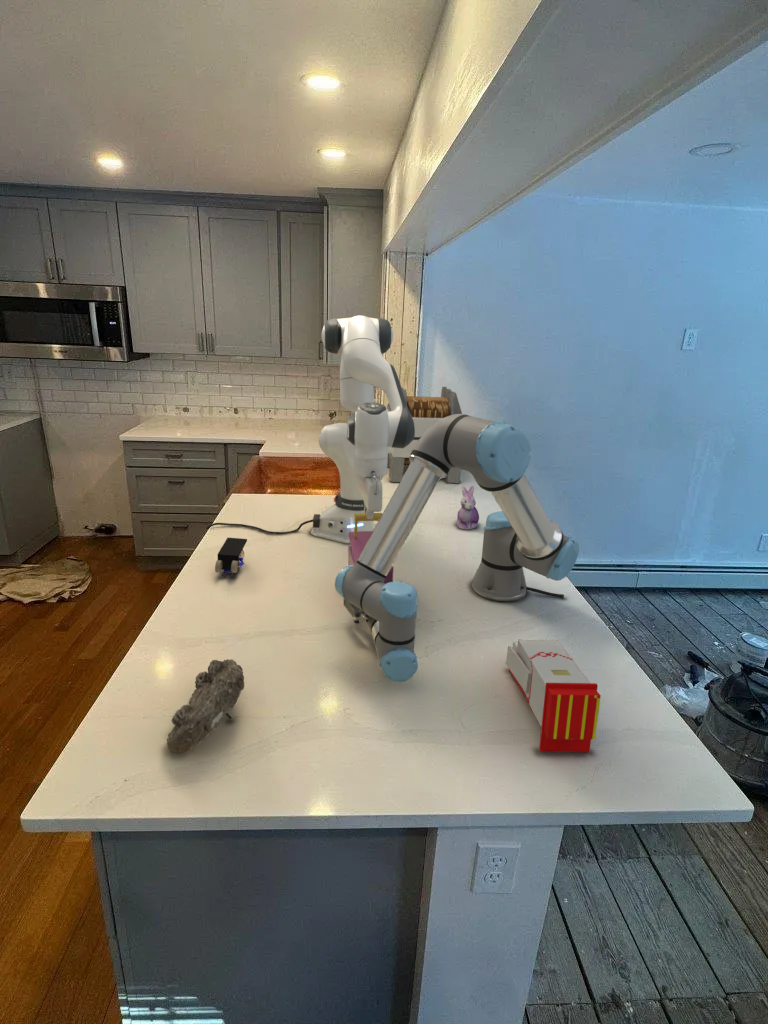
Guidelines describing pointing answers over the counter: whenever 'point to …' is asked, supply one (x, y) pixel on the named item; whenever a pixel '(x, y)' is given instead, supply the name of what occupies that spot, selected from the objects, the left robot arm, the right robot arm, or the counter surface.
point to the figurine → (468, 510)
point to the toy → (556, 694)
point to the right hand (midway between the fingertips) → (372, 584)
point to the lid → (361, 535)
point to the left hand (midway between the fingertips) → (368, 515)
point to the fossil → (206, 705)
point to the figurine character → (230, 556)
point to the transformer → (424, 428)
